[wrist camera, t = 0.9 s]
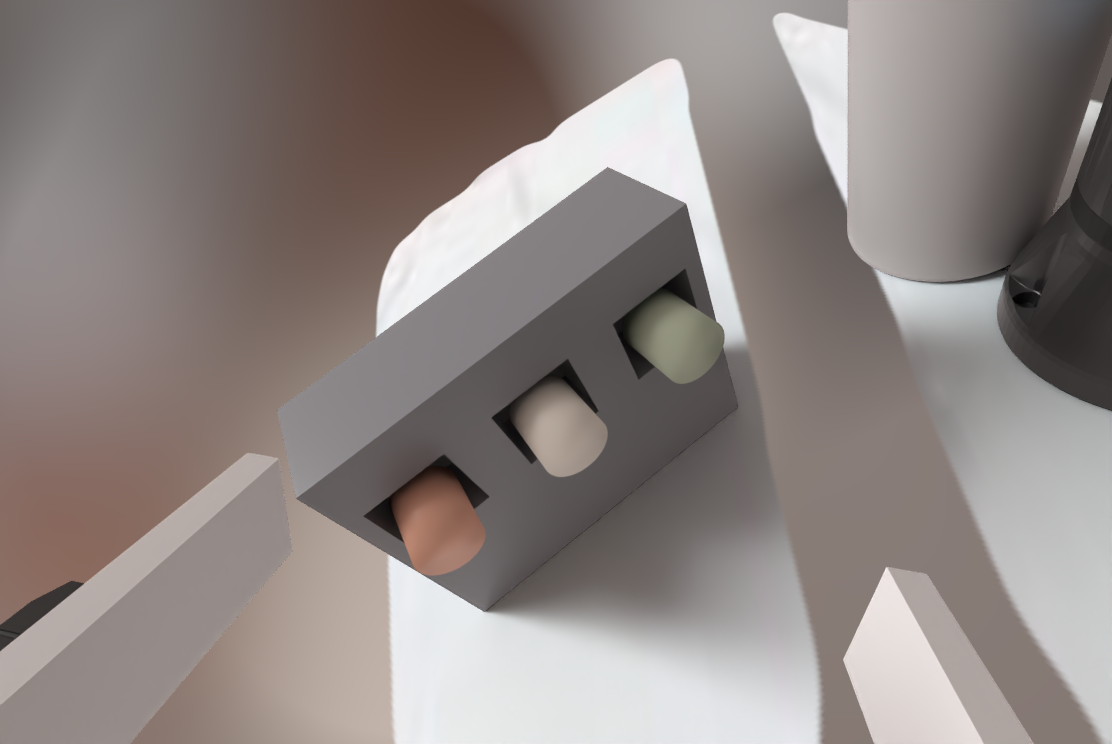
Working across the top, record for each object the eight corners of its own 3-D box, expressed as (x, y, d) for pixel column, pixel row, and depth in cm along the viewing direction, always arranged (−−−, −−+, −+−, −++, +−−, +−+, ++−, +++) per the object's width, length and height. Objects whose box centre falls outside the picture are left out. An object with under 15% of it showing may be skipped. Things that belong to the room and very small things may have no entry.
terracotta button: (469, 486, 31) (434, 454, 28) (497, 538, 28) (461, 507, 26) (416, 528, 31) (375, 500, 28) (439, 584, 28) (396, 558, 25)
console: (676, 358, 44) (607, 167, 31) (738, 406, 39) (686, 203, 26) (449, 536, 42) (277, 410, 29) (484, 611, 37) (295, 498, 24)
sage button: (682, 320, 33) (667, 275, 30) (729, 354, 30) (717, 306, 27) (633, 358, 32) (614, 316, 30) (676, 396, 29) (659, 352, 27)
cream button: (578, 402, 32) (553, 362, 29) (616, 443, 29) (593, 404, 26) (527, 441, 32) (497, 406, 29) (560, 487, 29) (531, 453, 26)
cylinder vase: (1063, 279, 36) (1276, -260, 18) (847, 293, 42) (848, -103, 24) (1029, 166, 42) (1160, -311, 25) (847, 191, 48) (847, -178, 30)
